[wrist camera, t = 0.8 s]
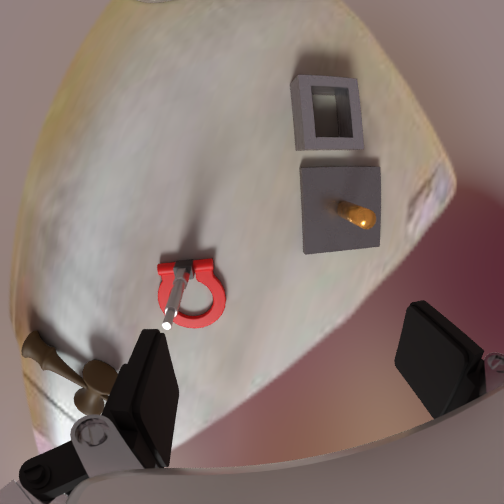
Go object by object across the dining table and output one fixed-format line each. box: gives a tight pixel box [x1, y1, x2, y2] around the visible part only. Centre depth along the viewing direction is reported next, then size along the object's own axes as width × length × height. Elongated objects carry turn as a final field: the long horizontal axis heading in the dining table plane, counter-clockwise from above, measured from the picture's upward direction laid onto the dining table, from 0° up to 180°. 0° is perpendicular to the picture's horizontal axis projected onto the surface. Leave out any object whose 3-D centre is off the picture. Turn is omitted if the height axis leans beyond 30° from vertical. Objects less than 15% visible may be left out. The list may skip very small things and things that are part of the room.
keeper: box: [300, 167, 381, 254], centre depth 30 cm, size 10×10×7 cm
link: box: [290, 75, 364, 151], centre depth 28 cm, size 8×7×4 cm
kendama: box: [22, 331, 118, 416], centre depth 35 cm, size 6×10×20 cm
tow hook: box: [157, 258, 226, 330], centre depth 29 cm, size 8×13×9 cm
